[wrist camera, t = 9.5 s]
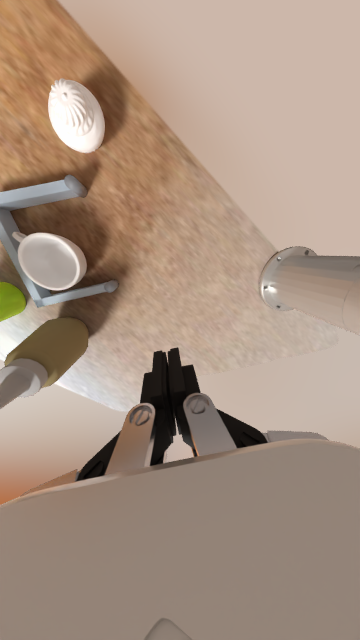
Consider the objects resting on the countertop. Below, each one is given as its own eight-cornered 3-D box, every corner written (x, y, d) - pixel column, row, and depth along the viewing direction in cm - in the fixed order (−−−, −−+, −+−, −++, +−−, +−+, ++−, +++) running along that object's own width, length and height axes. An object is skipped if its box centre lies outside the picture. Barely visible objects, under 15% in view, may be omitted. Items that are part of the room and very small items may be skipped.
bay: (84, 183, 26) (74, 173, 23) (120, 287, 32) (115, 291, 29) (-5, 201, 25) (-28, 194, 22) (48, 303, 31) (36, 309, 28)
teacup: (101, 258, 30) (90, 260, 25) (77, 293, 31) (63, 301, 26) (42, 214, 27) (16, 205, 22) (19, 255, 28) (-11, 255, 23)
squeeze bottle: (55, 350, 35) (-38, 441, 18) (44, 312, 32) (-80, 378, 15) (98, 348, 36) (47, 432, 19) (90, 310, 33) (22, 370, 16)
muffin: (54, 114, 23) (14, 60, 16) (98, 99, 23) (75, 38, 16) (79, 170, 25) (52, 142, 19) (118, 157, 25) (106, 123, 19)
